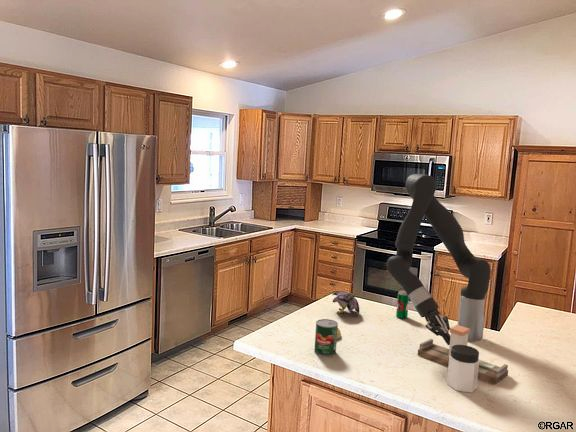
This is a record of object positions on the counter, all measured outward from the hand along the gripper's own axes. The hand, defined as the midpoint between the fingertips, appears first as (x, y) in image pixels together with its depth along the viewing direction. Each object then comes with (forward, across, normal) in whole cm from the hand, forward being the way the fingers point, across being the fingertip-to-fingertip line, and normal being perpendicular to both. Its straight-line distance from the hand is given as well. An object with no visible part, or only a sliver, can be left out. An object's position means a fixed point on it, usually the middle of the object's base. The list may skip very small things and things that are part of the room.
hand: (451, 343), depth 159 cm
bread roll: (-25, -17, +34) cm, 46 cm away
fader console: (+7, 0, +2) cm, 8 cm away
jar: (+13, -15, -3) cm, 20 cm away
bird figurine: (-34, +8, +43) cm, 56 cm away
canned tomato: (-18, -30, +28) cm, 45 cm away
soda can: (-21, +26, +30) cm, 45 cm away
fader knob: (+5, 0, +1) cm, 5 cm away
